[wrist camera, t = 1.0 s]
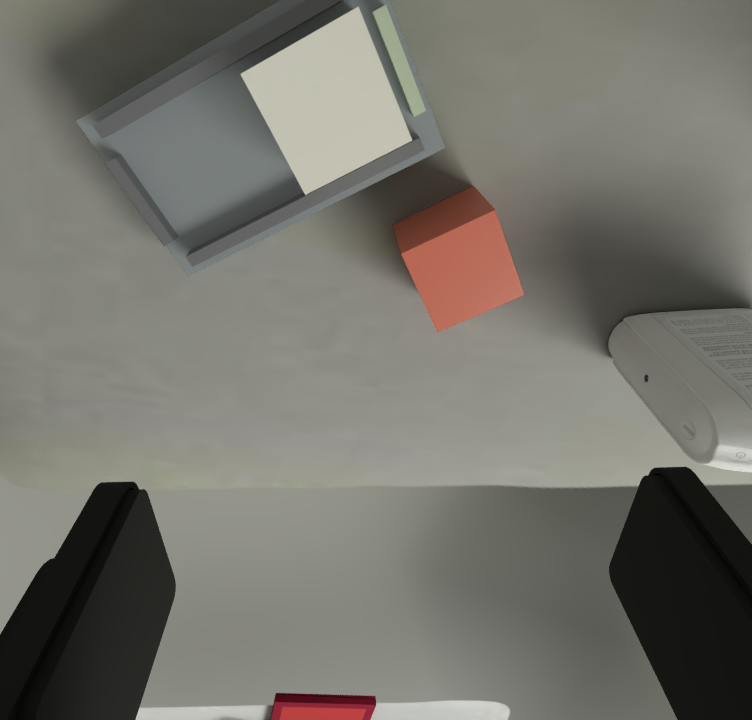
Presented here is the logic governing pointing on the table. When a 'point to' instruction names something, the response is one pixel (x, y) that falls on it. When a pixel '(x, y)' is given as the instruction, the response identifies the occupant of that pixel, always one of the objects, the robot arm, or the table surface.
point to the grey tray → (240, 135)
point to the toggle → (328, 102)
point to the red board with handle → (322, 707)
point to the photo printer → (693, 378)
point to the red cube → (458, 258)
